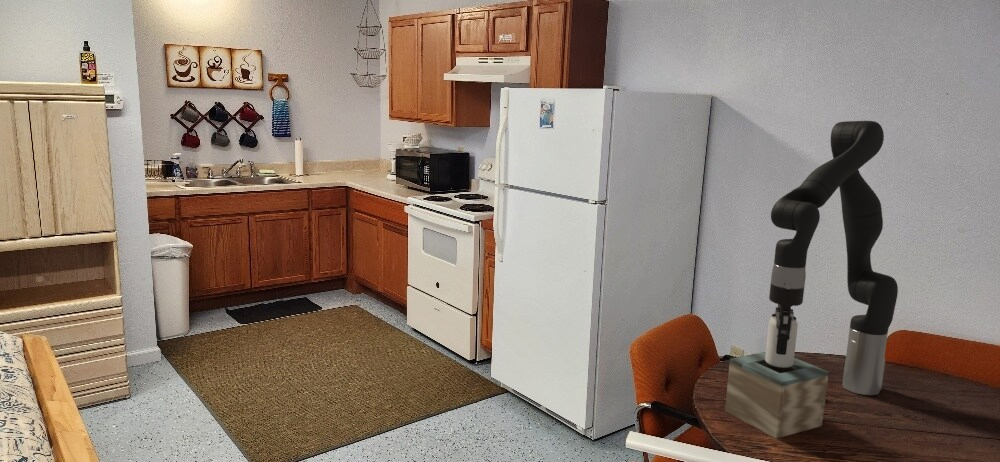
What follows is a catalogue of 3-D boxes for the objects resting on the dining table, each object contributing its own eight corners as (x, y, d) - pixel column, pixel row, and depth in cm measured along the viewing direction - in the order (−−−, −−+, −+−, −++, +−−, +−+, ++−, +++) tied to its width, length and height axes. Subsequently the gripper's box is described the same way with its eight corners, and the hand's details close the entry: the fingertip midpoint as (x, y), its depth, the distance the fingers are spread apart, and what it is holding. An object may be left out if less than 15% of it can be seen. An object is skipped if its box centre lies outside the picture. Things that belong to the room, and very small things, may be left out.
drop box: (769, 400, 181) (775, 349, 179) (822, 425, 167) (828, 371, 165) (724, 410, 174) (730, 358, 172) (775, 438, 160) (782, 382, 158)
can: (792, 361, 170) (797, 314, 168) (794, 370, 164) (799, 322, 162) (764, 357, 172) (769, 311, 170) (765, 366, 166) (770, 318, 164)
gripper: (770, 274, 172) (763, 338, 175) (771, 288, 159) (764, 356, 162) (802, 278, 170) (795, 342, 173) (806, 292, 157) (798, 361, 160)
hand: (780, 349), depth 167 cm, fingers closed on can, 6 cm apart
